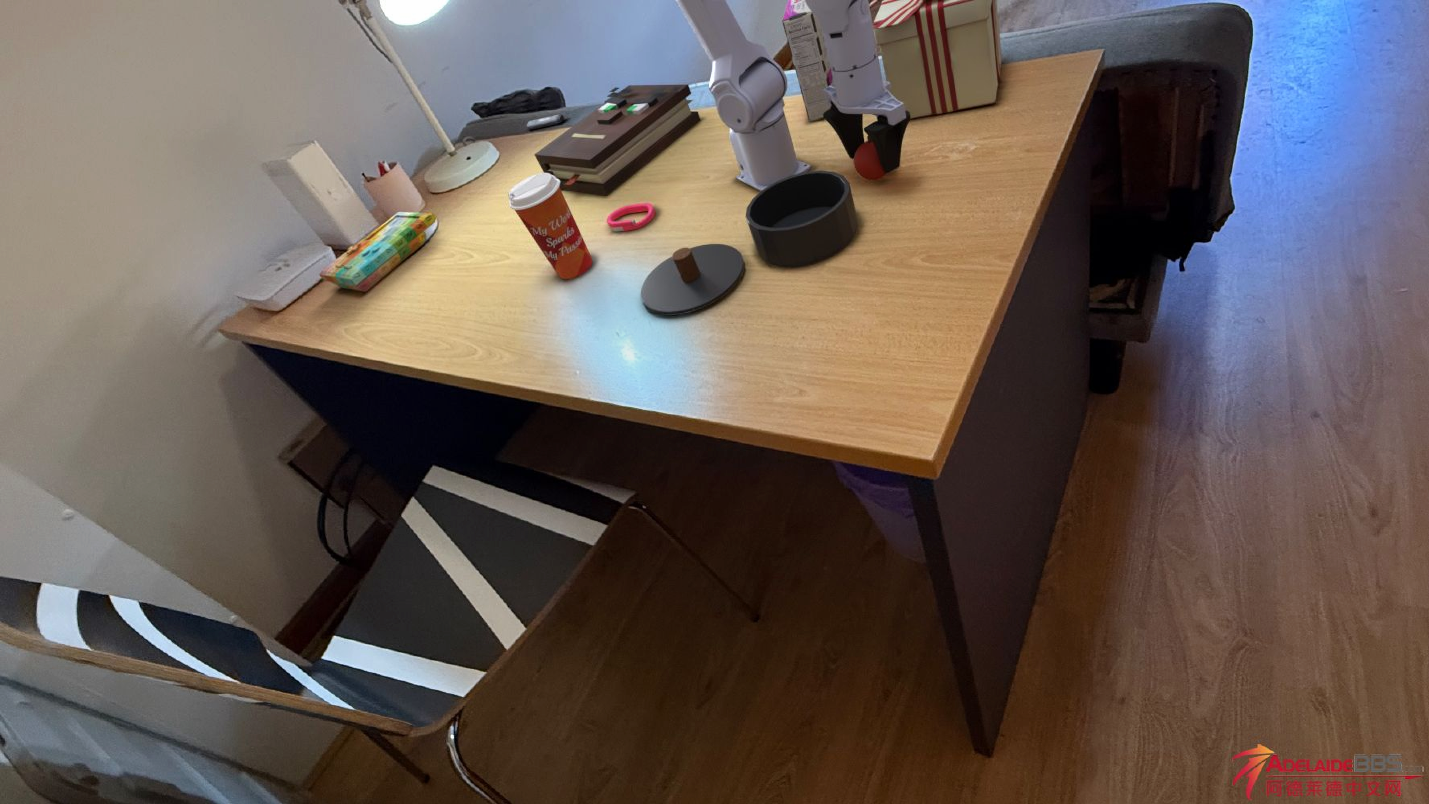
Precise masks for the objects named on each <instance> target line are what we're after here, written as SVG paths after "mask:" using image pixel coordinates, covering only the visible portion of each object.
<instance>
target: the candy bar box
mask: <svg viewBox="0 0 1429 804" xmlns="http://www.w3.org/2000/svg"><path fill="white" fill-rule="evenodd" d="M781 24H782V26H783V30H784V33H785V37H786V42H787V45H788V49H789V53H790V56H791V60H792V63H793V66H794V70H795V73H796V78H797V81H798V86H799V89H800V93H801V97H802V101H803V104H804V108H805V112H806V115H807V119H808V122H809V123H811V122H818V121H821V120H825V119H824V117H823V113H824V112H825V111H827V110H829V109H830V106H831V104H827V103H826V101H825V97H824V93H823V89H825V88H827V87H828V86H830V85H832V84H834V80H833V76H832V72H831V67H830V62H829V58H828V53H827V49H826V44H825V40H824V35H823V31H822V29H820V25H819V21H818V18H817V17H816V15H815V14H814V13H813V12H812V11H811V10H810V9H809V7H808V6H807V4H806V2H805V0H787V3H786V7H785V10H784V13H783V16H782V19H781Z"/></svg>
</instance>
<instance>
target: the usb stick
mask: <svg viewBox="0 0 1429 804" xmlns="http://www.w3.org/2000/svg"><path fill="white" fill-rule="evenodd" d="M564 119H565V116H564V115H563V114H561V113H559V114H555V115H550V116H546V117H542V118H537V119H532V120H529V121H528V122H527V124H526V128H527V129H528V131H530V130H535V129H541V128H544V127H549V126H553V125H554V126H555V125H558V124H561V123H562V122H563V121H564Z"/></svg>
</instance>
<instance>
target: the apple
mask: <svg viewBox="0 0 1429 804" xmlns="http://www.w3.org/2000/svg"><path fill="white" fill-rule="evenodd" d="M866 138H867V140H866V141H865V142H864V143H863V144H862V145H860V147H859V148H858V149H857V151H856V153H855V156H854V159H853V166H854V170H855V171H856V174H858V176H859V177H860V178H862V179H864V180H867V181H878V180H881V179H883V178H884V177H886V176H887V175H888V174H887V173H884V171H883V169H882V167H881V164H880V161H879V157H878V154H877V151H876V149H875V146H874V144H873V142H872V141H871V139H870V138H869V136H868V135H866Z"/></svg>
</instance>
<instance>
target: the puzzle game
mask: <svg viewBox="0 0 1429 804" xmlns="http://www.w3.org/2000/svg"><path fill="white" fill-rule="evenodd" d="M436 220H437V217H436V215H435V214H434V213H432V212H431V213H430V212H412V211H411V212H410V211H409V212H408V211H398V212H397V213H396V214H394V215H393V216H391V217H390V218H389V219H387V221H384V223H383V224H381V225H379V226H378V227H377V228H376V229H374V230H373V231H372V232H371V233H369V234H367V235H366V236H364V238H363V239H361V240H360V241H359V242H357V243H356V244H354V245H350V246H349V247H348V248H347V251H346V252H344V253H343V254H342V255H340V256H339V257H337V258H336V259H335V260H334V261H332V262H330V264H328V265H327V266H325V267H324V268H323V269H322V270H320V272H319V274H318V276H319V277H320V278H321V279H322V280H323V281H325V282H328V283H331V284H333V285H336V286H337V287H340V288H343V289H349V290H352V291H359V292H365V293H366V292H368V291H369V290H370V289H371V288H373V286H375V285H376V284H377V283H379V282H380V281H381V280H382V279H383V278H385V277H386V276H387V275H388V274H389V273H391V272H392V271H393V270H394V269H395V268H397V267H398V266H399V265H400V264H401V263H402V262H404V261H405V260H406V259H408V258H409V257H410V256H411V255H412V254H413V253H415V252H416V251H417V250H418V249H420V248H421V247H422V246H423V245H424V244H425V242H426V239H427V238H426V237H427V235H426V230H428V229H429V228H430V227H431V226H432V225H433V224H434V223H436Z"/></svg>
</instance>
